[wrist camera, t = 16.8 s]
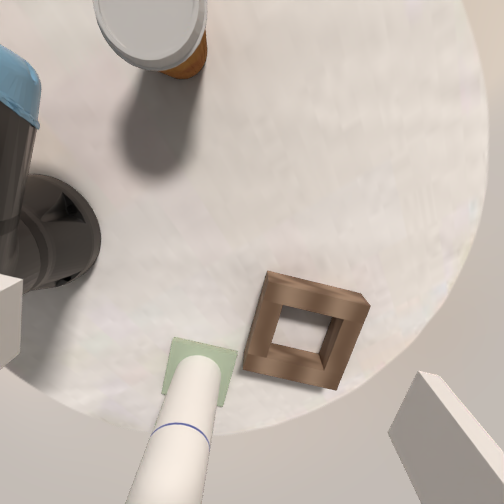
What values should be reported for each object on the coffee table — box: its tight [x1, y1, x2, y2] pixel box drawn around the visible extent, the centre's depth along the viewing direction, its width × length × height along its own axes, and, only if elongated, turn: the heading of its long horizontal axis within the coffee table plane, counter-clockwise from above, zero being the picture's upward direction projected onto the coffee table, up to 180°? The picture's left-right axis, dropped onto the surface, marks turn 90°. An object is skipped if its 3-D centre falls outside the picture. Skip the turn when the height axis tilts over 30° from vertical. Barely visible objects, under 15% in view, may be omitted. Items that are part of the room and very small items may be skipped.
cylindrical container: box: [125, 355, 221, 504], centre depth 36 cm, size 7×7×25 cm
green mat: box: [161, 337, 238, 407], centre depth 49 cm, size 10×10×1 cm
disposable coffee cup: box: [93, 0, 207, 79], centre depth 31 cm, size 10×10×12 cm
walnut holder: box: [243, 271, 370, 390], centre depth 45 cm, size 14×14×4 cm
